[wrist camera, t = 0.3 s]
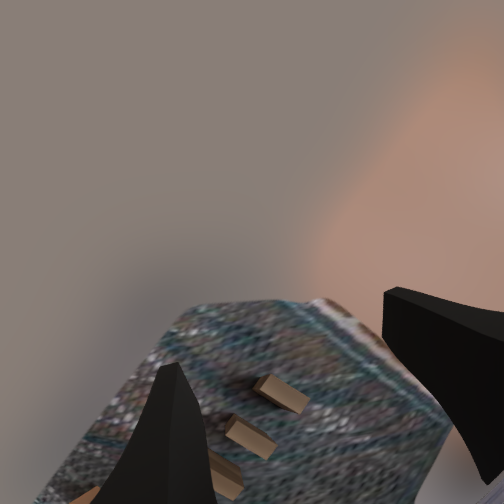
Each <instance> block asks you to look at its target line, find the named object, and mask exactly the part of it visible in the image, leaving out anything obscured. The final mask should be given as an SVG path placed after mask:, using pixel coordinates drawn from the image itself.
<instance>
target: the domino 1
mask: <svg viewBox="0 0 504 504" xmlns="http://www.w3.org/2000/svg"><path fill="white" fill-rule="evenodd" d="M99 491H100V488H99V487H98V486H96V487H94V488H93V489H91V490H90V491H88V492H87V493H85V494H83V495H82V496H80V497H79V498H77V499H75V500H74V501H72V502H71V503H69V504H89V503H90V502H91V501H92V500H93V499H94V497H95V496H96V495H97V493H98V492H99Z"/></svg>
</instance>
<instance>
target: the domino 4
mask: <svg viewBox="0 0 504 504" xmlns="http://www.w3.org/2000/svg"><path fill="white" fill-rule="evenodd" d="M252 390H254V391H255V392H257V393H258V394H260V395H261V396H263V397H265V398H266V399H268V400H269V401H271V402H272V403H274V404H276V405H277V406H279V407H281V408H282V409H284V410H287V411H291V412H294V413H297V414H300V413H301V412H302V410H303V409H304V407H305V406H306V404H307V403H308V401H309V400H310V398H309V397H307V396H305V395H304V394H302V393H300V392H299V391H297V390H296V389H294V388H292V387H291V386H289V385H288V384H286V383H284V382H283V381H281V380H280V379H278V378H277V377H275V376H273V375H272V374H269V375H266V376H262V377H260V378H259V380H258V381H257V383H256V384H255V385H254V387H253V388H252Z"/></svg>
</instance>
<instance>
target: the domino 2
mask: <svg viewBox="0 0 504 504" xmlns="http://www.w3.org/2000/svg"><path fill="white" fill-rule="evenodd" d="M208 455H209V462H210V469H211V476H212V482H213V488H214V490H215V491H216V492H218V493H220V494H222V495H223V496H225V497H227V498H229V499H231V500H234V499H235V498H236V497H237V496H238V495H239V493H240V492H241V491H242V490H243V489H244V485H243V480H242V476H241V471H240V467H238V466H236V465H235V464H233V463H231V462H230V461H228V460H226V459H225V458H223V457H222V456H220V455H218V454H217V453H215V452H214V451H212V450H211V449H209V448H208Z"/></svg>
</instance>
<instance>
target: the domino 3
mask: <svg viewBox="0 0 504 504" xmlns="http://www.w3.org/2000/svg"><path fill="white" fill-rule="evenodd" d="M225 435H226V436H227V437H229V438H231V439H232V440H234V441H235V442H237V443H239V444H240V445H242V446H243V447H245V448H247V449H248V450H250V451H252V452H254V453H255V454H257V455H259V456H260V457H262V458H264V459H266V460H267V459H268V458H269V456H270V455H271V454H272V452H273V451H274V450H275V448H276V447H277V446H278V445H277V444H276V443H275V442H274V441H273V440H272V439H271V438H270V437H269V436H268V435H267V434H266V433H265V432H263V431H261V430H260V429H258V428H256V427H255V426H253V425H252V424H250V423H248V422H247V421H245V420H244V419H242V418H241V417H239V416H237V415H236V414H233V415H232V417H231V418H230V419H229V421H228V422H227V423H226V425H225Z"/></svg>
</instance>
